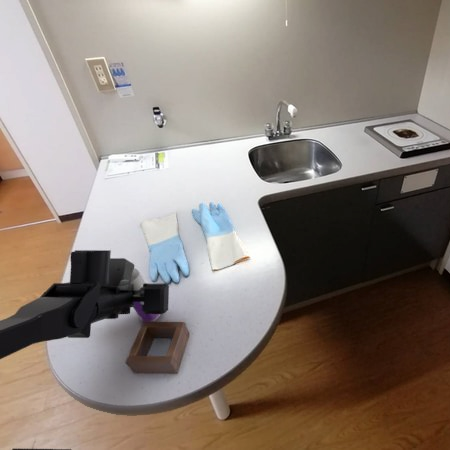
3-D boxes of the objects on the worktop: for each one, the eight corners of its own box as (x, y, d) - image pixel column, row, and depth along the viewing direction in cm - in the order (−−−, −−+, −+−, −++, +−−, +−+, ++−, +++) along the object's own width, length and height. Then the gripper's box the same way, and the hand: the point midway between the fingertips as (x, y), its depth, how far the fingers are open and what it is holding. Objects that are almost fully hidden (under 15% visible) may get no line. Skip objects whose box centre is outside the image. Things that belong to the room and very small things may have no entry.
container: (156, 323, 75) (134, 284, 65) (137, 323, 75) (112, 284, 65) (163, 307, 78) (143, 267, 68) (145, 306, 78) (122, 267, 69)
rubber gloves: (153, 294, 81) (145, 278, 77) (141, 224, 103) (134, 208, 99) (250, 259, 91) (248, 243, 86) (220, 201, 113) (217, 187, 109)
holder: (177, 373, 65) (170, 362, 62) (133, 373, 65) (124, 362, 62) (189, 333, 72) (184, 321, 69) (150, 333, 73) (143, 321, 69)
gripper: (150, 261, 58) (183, 258, 73) (53, 261, 58) (106, 259, 74) (148, 321, 57) (181, 306, 73) (49, 321, 57) (103, 306, 73)
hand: (143, 292), depth 73 cm, fingers open, 6 cm apart
